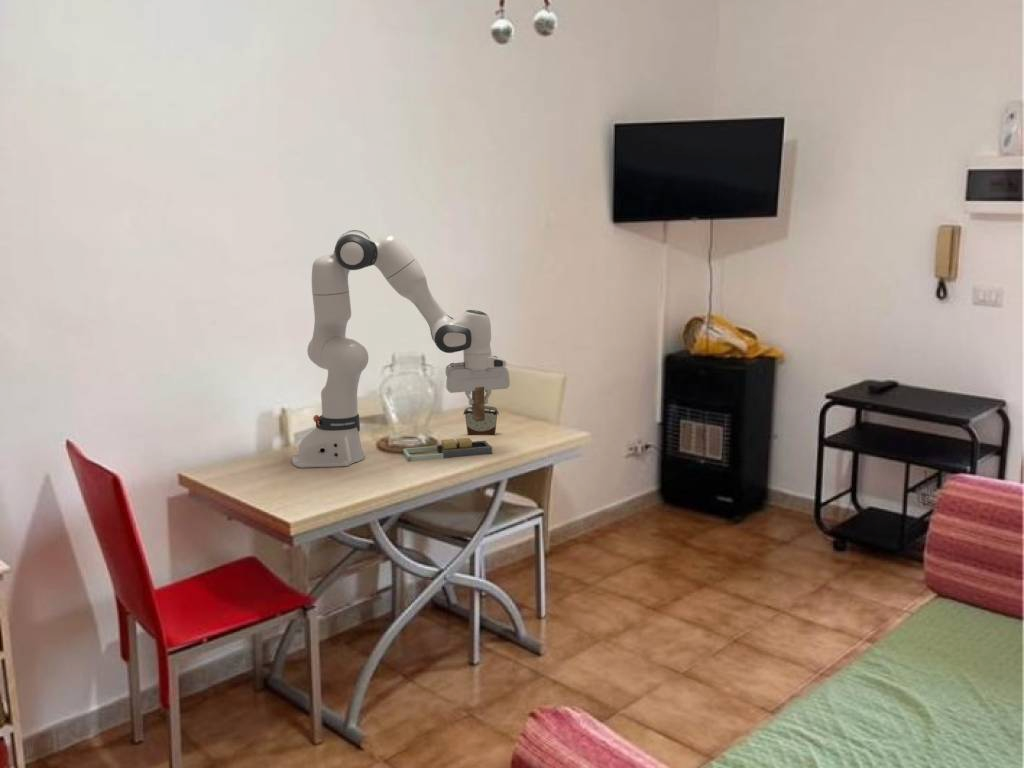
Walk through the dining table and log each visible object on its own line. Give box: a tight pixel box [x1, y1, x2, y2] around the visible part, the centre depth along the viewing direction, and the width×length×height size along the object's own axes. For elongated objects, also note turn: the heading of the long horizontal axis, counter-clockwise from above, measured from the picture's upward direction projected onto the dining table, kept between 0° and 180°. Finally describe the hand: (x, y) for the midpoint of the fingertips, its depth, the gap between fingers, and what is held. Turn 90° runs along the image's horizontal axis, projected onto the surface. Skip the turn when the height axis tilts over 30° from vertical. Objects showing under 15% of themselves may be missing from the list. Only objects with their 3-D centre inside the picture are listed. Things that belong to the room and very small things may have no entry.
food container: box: [462, 405, 500, 436], centre depth 321 cm, size 12×6×10 cm, turn 84°
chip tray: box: [402, 445, 445, 462], centre depth 294 cm, size 11×10×2 cm
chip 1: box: [440, 438, 457, 450], centre depth 296 cm, size 4×4×4 cm
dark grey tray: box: [436, 440, 493, 459], centre depth 298 cm, size 16×10×3 cm, turn 107°
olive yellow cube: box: [456, 437, 473, 449], centre depth 297 cm, size 4×4×4 cm
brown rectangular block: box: [471, 387, 486, 421], centre depth 296 cm, size 3×4×11 cm
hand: (478, 404), depth 296 cm, fingers closed on brown rectangular block, 3 cm apart
